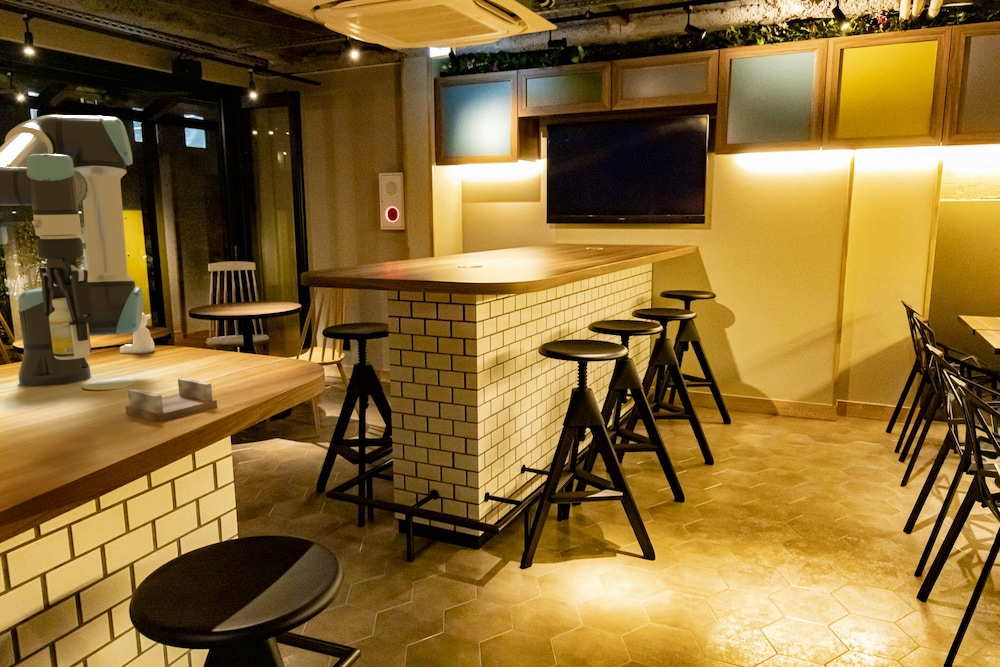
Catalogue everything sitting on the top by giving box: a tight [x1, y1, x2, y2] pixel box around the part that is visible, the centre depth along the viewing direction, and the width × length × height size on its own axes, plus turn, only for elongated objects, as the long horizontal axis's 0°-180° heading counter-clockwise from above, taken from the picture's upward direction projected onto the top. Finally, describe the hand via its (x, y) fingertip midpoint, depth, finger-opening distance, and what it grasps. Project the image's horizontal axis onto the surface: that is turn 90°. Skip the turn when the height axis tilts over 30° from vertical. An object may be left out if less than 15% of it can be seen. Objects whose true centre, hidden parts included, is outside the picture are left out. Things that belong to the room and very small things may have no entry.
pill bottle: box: [49, 298, 92, 360], centre depth 140 cm, size 6×6×12 cm
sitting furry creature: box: [119, 312, 155, 354], centre depth 211 cm, size 10×9×12 cm
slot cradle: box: [124, 377, 218, 423], centre depth 149 cm, size 12×13×5 cm
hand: (72, 354), depth 141 cm, fingers closed on pill bottle, 6 cm apart
